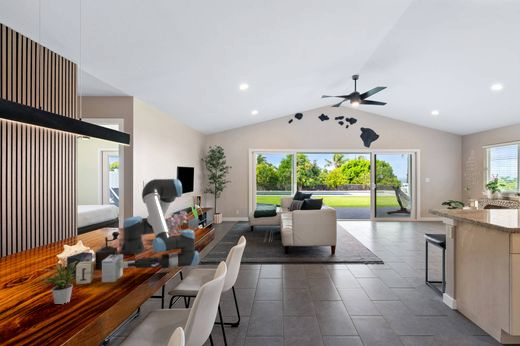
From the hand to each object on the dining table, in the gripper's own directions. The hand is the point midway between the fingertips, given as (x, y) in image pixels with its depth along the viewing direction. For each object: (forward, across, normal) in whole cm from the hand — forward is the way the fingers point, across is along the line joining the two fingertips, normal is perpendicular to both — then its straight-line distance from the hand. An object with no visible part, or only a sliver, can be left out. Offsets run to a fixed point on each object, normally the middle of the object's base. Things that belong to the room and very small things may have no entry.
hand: (121, 265), depth 146 cm
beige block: (+16, 0, -6) cm, 17 cm away
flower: (-28, +80, -7) cm, 85 cm away
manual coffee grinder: (+10, +26, -7) cm, 29 cm away
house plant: (+19, -22, -7) cm, 30 cm away
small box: (+21, +12, -7) cm, 25 cm away
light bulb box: (+4, 0, -7) cm, 8 cm away
